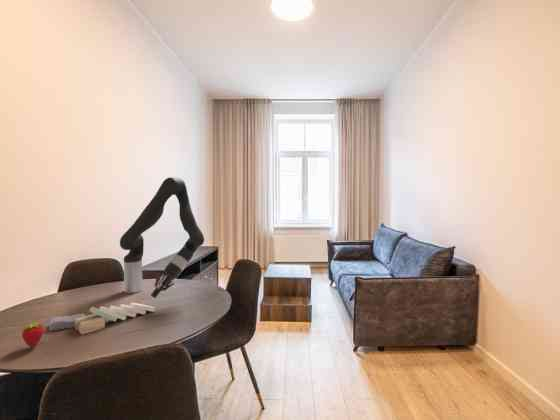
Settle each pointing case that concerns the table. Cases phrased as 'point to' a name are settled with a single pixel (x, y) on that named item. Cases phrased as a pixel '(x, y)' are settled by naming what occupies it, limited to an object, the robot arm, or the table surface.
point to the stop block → (89, 323)
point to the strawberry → (32, 334)
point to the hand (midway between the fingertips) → (152, 296)
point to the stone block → (64, 322)
